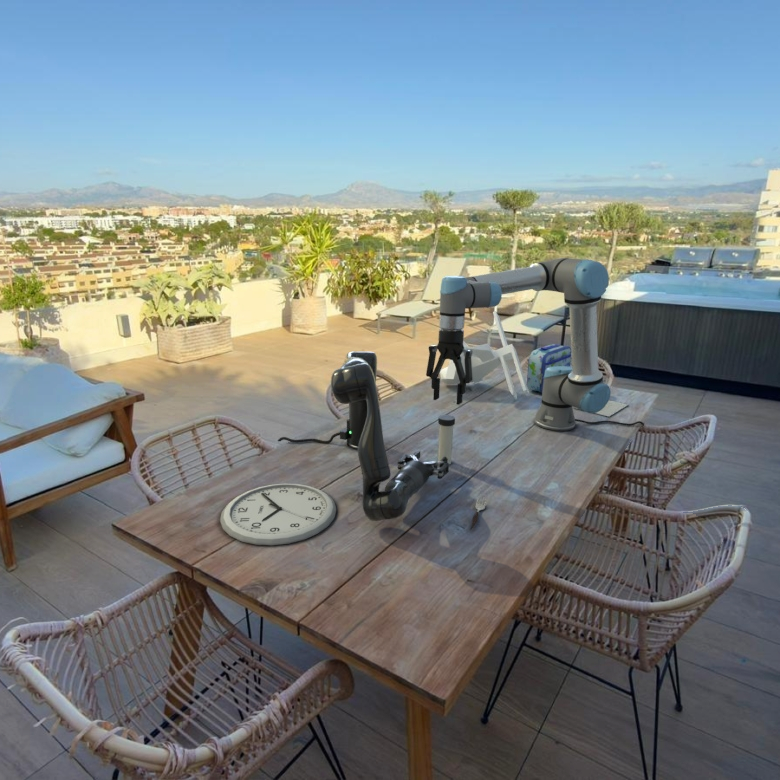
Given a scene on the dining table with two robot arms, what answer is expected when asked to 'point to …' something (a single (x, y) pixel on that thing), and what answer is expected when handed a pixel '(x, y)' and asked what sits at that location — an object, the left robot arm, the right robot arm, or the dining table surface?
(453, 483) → the dining table surface
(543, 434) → the dining table surface
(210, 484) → the dining table surface
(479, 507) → the fork
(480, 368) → the white plastic object
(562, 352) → the lunch box
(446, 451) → the jar
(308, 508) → the wall clock
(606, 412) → the invitation card
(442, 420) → the lid
